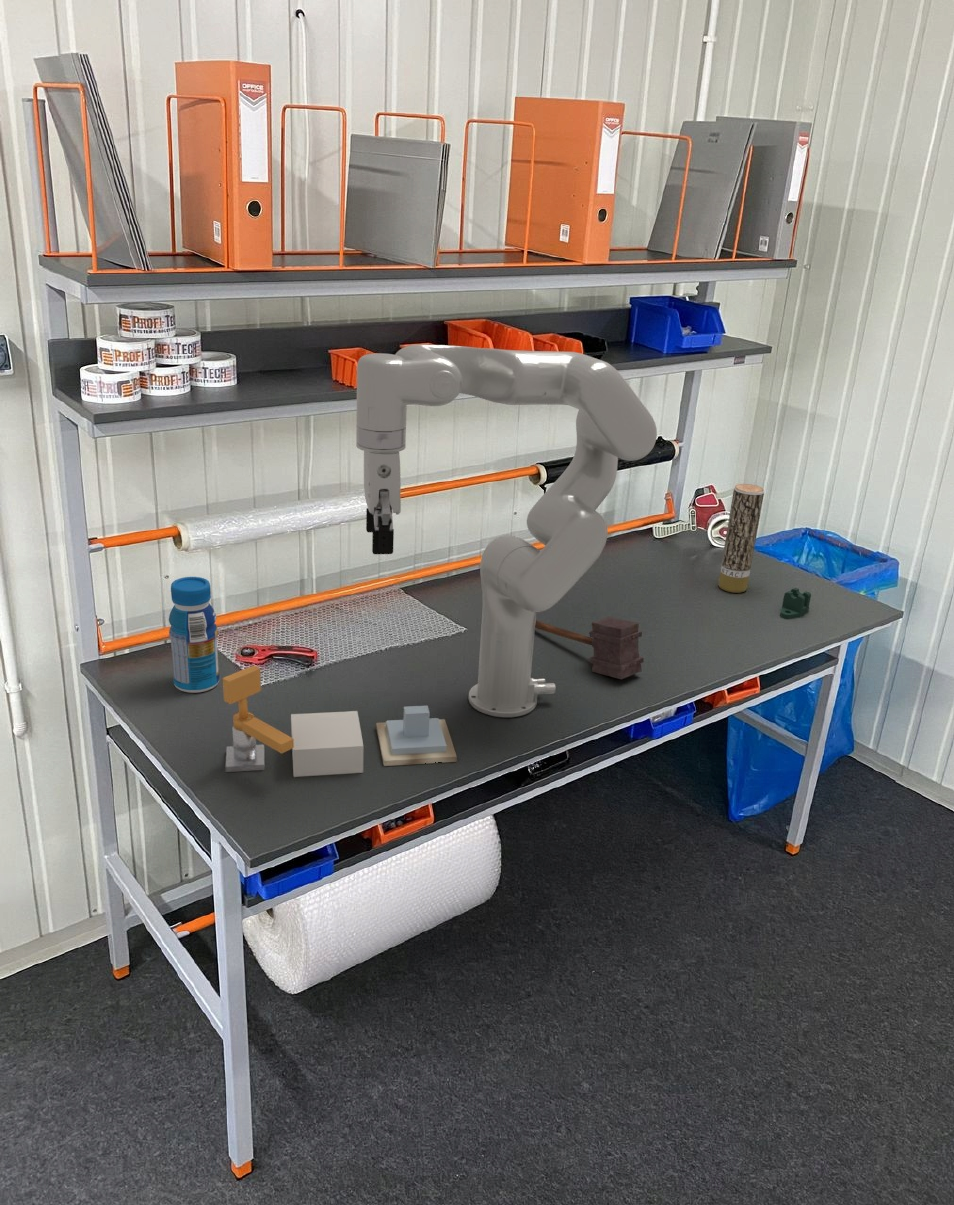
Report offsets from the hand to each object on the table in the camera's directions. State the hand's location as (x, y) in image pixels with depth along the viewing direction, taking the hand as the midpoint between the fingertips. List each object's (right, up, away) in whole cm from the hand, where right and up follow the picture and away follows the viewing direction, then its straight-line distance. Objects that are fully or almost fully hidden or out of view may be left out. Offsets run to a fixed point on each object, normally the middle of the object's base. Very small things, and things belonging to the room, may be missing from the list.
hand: (379, 542), depth 162 cm
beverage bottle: (-36, -25, +25) cm, 50 cm away
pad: (+5, -34, +10) cm, 35 cm away
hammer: (+35, -20, +46) cm, 61 cm away
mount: (+88, -12, +71) cm, 114 cm away
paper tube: (+77, -6, +81) cm, 112 cm away
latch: (-18, -31, -3) cm, 36 cm away
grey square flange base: (-22, -35, +2) cm, 42 cm away
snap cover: (+5, -33, +9) cm, 34 cm away
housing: (-9, -35, +5) cm, 36 cm away
